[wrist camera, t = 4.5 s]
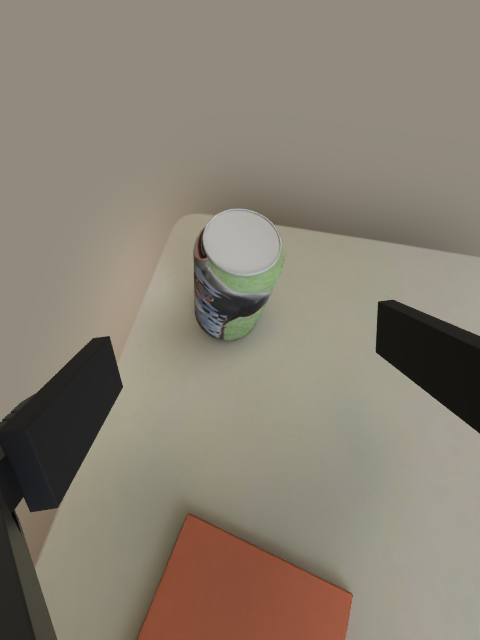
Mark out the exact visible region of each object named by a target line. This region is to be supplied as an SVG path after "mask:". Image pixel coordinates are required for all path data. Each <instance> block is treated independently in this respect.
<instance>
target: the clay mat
mask: <svg viewBox="0 0 480 640" xmlns="http://www.w3.org/2000/svg"><path fill="white" fill-rule="evenodd" d="M352 597H353V595H352V594H351V593H350V592H348V591H346V590H344V589H342V588H340V587H338V586H336V585H334V584H332V583H330V582H328V581H326V580H324V579H322V578H320V577H318V576H316V575H314V574H312V573H309V572H307V571H305V570H303V569H301V568H299V567H297V566H295V565H293V564H291V563H289V562H287V561H285V560H283V559H281V558H279V557H277V556H275V555H273V554H271V553H269V552H267V551H265V550H263V549H261V548H259V547H257V546H255V545H253V544H251V543H249V542H246V541H244V540H242V539H240V538H238V537H236V536H234V535H232V534H230V533H228V532H226V531H224V530H222V529H220V528H218V527H216V526H214V525H212V524H210V523H208V522H206V521H204V520H202V519H200V518H198V517H196V516H194V515H192V514H190V513H189V514H188V515H187V517H186V520H185V522H184V525H183V527H182V530H181V532H180V535H179V537H178V540H177V542H176V544H175V547H174V549H173V552H172V554H171V557H170V559H169V562H168V564H167V567H166V569H165V572H164V574H163V577H162V579H161V582H160V584H159V587H158V589H157V592H156V594H155V597H154V599H153V601H152V604H151V606H150V609H149V611H148V614H147V616H146V619H145V621H144V624H143V626H142V629H141V631H140V634H139V636H138V639H137V640H345V637H346V632H347V626H348V620H349V614H350V609H351V603H352Z"/></svg>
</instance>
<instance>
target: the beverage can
mask: <svg viewBox="0 0 480 640" xmlns="http://www.w3.org/2000/svg"><path fill="white" fill-rule="evenodd" d="M283 265H284V251H283V246H282V244H281V238H280V235H279V233H278V230H277V229H276V227H275V226H274V225H273V224H272V222H271V221H269V220H268V219H267V218H266V217H264V216H263V215H261V214H259V213H256V212H254V211H251V210H246V209H230V210H226V211H223V212H221V213H219V214H217V215H215V216H214V217H213V218H212V219H211V220H210V221H209V222H208V223H207V225H206V226H205V227H204V228H203V229H202V230H201V232H200V233H199V235H198V237H197V239H196V242H195V245H194V296H195V316H196V319H197V321H198V323H199V325H200V327H201V328H202V329H203V330H204V331H205V332H206V333H207V334H209V335H210V336H212V337H214V338H217V339H221V340H235V339H239V338H241V337H243V336H245V335H247V334H248V333H249V332H250V331H251V330H252V329H253V328H254V326H255V324H256V322H257V320H258V318H259V316H260V314H261V312H262V310H263V308H264V306H265V304H266V302H267V300H268V298H269V296H270V294H271V292H272V290H273V288H274V286H275V284H276V282H277V280H278V278H279V276H280V274H281V272H282V269H283Z"/></svg>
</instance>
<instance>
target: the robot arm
mask: <svg viewBox="0 0 480 640" xmlns="http://www.w3.org/2000/svg"><path fill="white" fill-rule="evenodd" d="M376 353H377V354H379V355H380V356H381V357H383V358H384V359H385V360H386V361H388V362H389V363H390V364H392V365H393V366H394V367H395V368H397V369H398V370H399V371H400V372H402V373H403V374H404V375H406V376H407V377H408V378H409V379H411V380H412V381H413V382H415V383H416V384H417V385H418V386H420V387H421V388H422V389H424V390H425V391H426V392H427V393H429V394H430V395H431V396H432V397H434V398H435V399H436V400H438V401H439V402H440V403H441V404H443V405H444V406H445V407H447V408H448V409H449V410H450V411H452V412H453V413H454V414H455V415H457V416H458V417H459V418H461V419H462V420H463V421H464V422H466V423H467V424H468V425H470V426H471V427H472V428H473V429H475V430H476V431H477V432H478V433H480V336H478V335H476V334H473V333H471V332H469V331H466V330H464V329H461V328H459V327H457V326H454V325H452V324H450V323H447V322H445V321H442V320H440V319H438V318H435V317H433V316H430V315H428V314H426V313H423V312H421V311H419V310H416V309H414V308H411V307H409V306H407V305H404V304H402V303H400V302H397V301H395V300H387V301H379V302H378V315H377V336H376ZM122 388H123V385H122V382H121V378H120V374H119V370H118V366H117V363H116V359H115V355H114V351H113V347H112V344H111V340H110V337H109V336H107V337H100V338H93V339H92V340H91V341H90V342H89V343H88V344H87V345H86V346H85V347H84V348H83V349H81V350H80V351H79V352H78V353H77V354H76V355H75V356H74V357H73V358H72V359H71V360H70V361H69V362H68V363H67V364H66V365H65V366H64V367H63V368H62V369H61V370H60V371H59V372H58V373H57V374H56V375H55V376H54V377H53V378H52V379H51V380H50V381H49V382H48V383H47V384H45V385H44V387H43V388H41V389H40V390H39V391H38V392H37V393H36V394H34V395H32V396H31V397H29V398H27V399H26V400H24V401H23V402H21V403H20V404H19V405H18V406H17V407H15V408H14V410H12V411H11V414H8V415H7V416H6V417H5V418H4V419H3V420H2V422H0V640H57V637H56V634H55V631H54V628H53V624H52V621H51V618H50V615H49V612H48V609H47V606H46V603H45V599H44V596H43V593H42V590H41V587H40V584H39V581H38V577H37V574H36V571H35V568H34V565H33V562H32V559H31V555H30V552H29V549H28V546H27V543H26V540H25V537H24V533H23V530H22V527H21V524H20V521H19V518H18V516H17V514H16V512H15V508H16V507H17V505H18V504H19V502H20V501H21V499H22V498H23V497H24V499H25V501H26V503H27V506H28V508H29V510H30V512H35V511H42V510H48V509H53V508H58V507H59V505H60V503H61V501H62V499H63V497H64V496H65V494H66V492H67V490H68V488H69V486H70V484H71V483H72V481H73V479H74V477H75V475H76V473H77V471H78V470H79V468H80V466H81V464H82V462H83V460H84V458H85V457H86V455H87V453H88V451H89V449H90V447H91V445H92V444H93V442H94V440H95V438H96V436H97V434H98V432H99V431H100V429H101V427H102V425H103V423H104V421H105V419H106V418H107V416H108V414H109V412H110V410H111V408H112V406H113V405H114V403H115V401H116V399H117V397H118V395H119V393H120V392H121V390H122Z"/></svg>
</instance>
